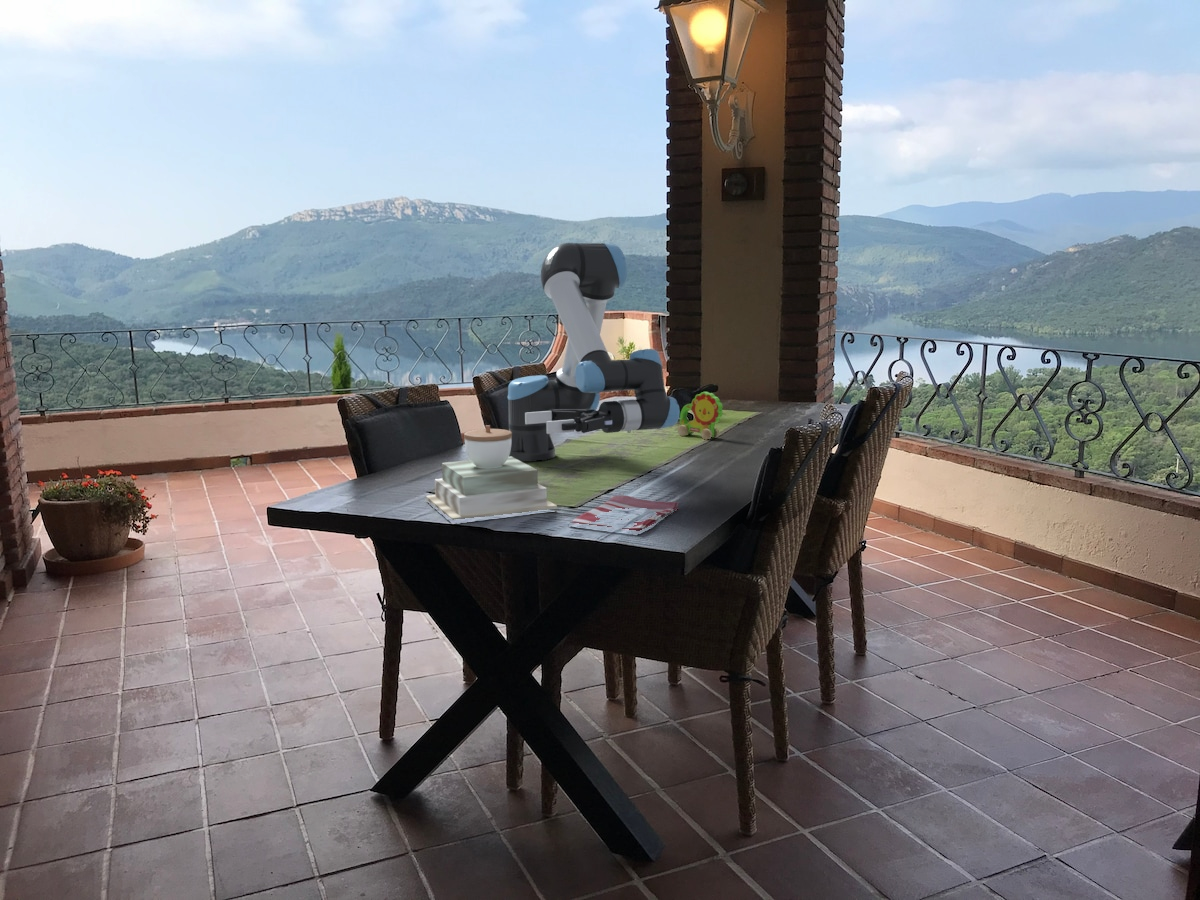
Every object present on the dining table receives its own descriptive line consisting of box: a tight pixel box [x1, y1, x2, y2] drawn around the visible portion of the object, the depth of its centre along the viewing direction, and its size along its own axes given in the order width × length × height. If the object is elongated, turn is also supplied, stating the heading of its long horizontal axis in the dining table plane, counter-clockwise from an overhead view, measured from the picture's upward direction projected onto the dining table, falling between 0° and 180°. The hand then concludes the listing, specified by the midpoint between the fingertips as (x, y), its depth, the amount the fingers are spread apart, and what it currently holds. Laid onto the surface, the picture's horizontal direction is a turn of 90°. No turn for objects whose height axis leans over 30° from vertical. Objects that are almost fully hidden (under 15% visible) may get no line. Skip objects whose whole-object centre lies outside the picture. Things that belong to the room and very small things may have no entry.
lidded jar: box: [463, 424, 512, 469], centre depth 199 cm, size 11×11×9 cm
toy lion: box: [676, 391, 724, 440], centre depth 287 cm, size 16×5×15 cm, turn 47°
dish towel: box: [569, 495, 679, 531], centre depth 192 cm, size 17×23×3 cm
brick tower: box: [425, 456, 558, 520], centre depth 201 cm, size 22×24×10 cm
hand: (535, 422), depth 203 cm, fingers open, 13 cm apart
